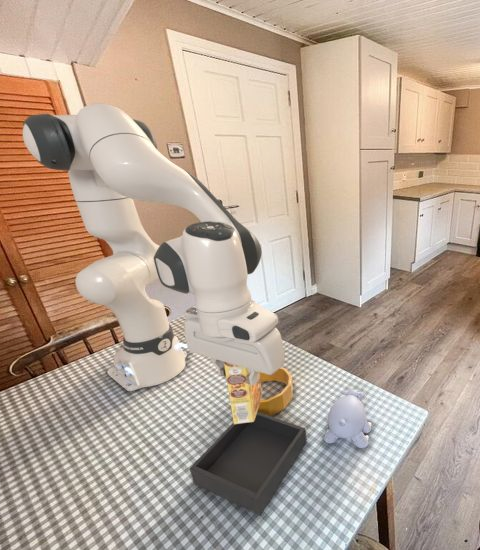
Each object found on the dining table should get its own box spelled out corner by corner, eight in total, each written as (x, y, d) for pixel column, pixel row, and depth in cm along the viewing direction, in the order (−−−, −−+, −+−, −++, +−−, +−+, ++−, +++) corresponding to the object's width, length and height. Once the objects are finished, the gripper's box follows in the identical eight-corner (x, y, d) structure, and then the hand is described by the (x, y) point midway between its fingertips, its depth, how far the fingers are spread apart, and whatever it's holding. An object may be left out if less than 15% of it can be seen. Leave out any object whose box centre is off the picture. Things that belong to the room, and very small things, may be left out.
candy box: (254, 422, 59) (245, 351, 56) (232, 425, 59) (221, 354, 55) (262, 395, 68) (255, 332, 64) (243, 397, 67) (234, 333, 64)
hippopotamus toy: (375, 407, 82) (375, 378, 78) (365, 458, 68) (366, 426, 64) (336, 402, 83) (335, 374, 80) (319, 451, 69) (317, 419, 66)
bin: (194, 484, 62) (189, 468, 60) (249, 422, 77) (247, 408, 75) (260, 516, 57) (256, 499, 55) (306, 443, 71) (305, 428, 69)
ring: (226, 408, 81) (222, 393, 79) (261, 374, 94) (259, 360, 92) (271, 424, 76) (269, 409, 74) (302, 386, 89) (301, 372, 87)
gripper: (168, 313, 54) (184, 375, 59) (262, 336, 47) (272, 404, 52) (197, 298, 59) (210, 356, 65) (285, 317, 53) (292, 380, 58)
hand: (238, 378), depth 58 cm, fingers closed on candy box, 5 cm apart
